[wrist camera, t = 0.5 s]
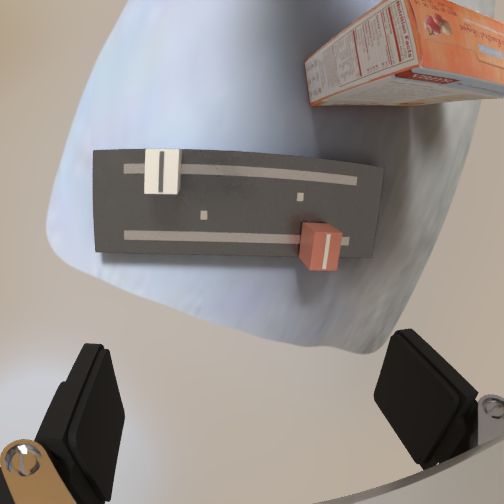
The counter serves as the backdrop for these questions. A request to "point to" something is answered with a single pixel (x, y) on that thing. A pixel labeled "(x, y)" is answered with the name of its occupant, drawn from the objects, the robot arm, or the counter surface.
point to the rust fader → (320, 246)
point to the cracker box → (410, 57)
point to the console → (233, 204)
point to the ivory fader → (162, 171)
